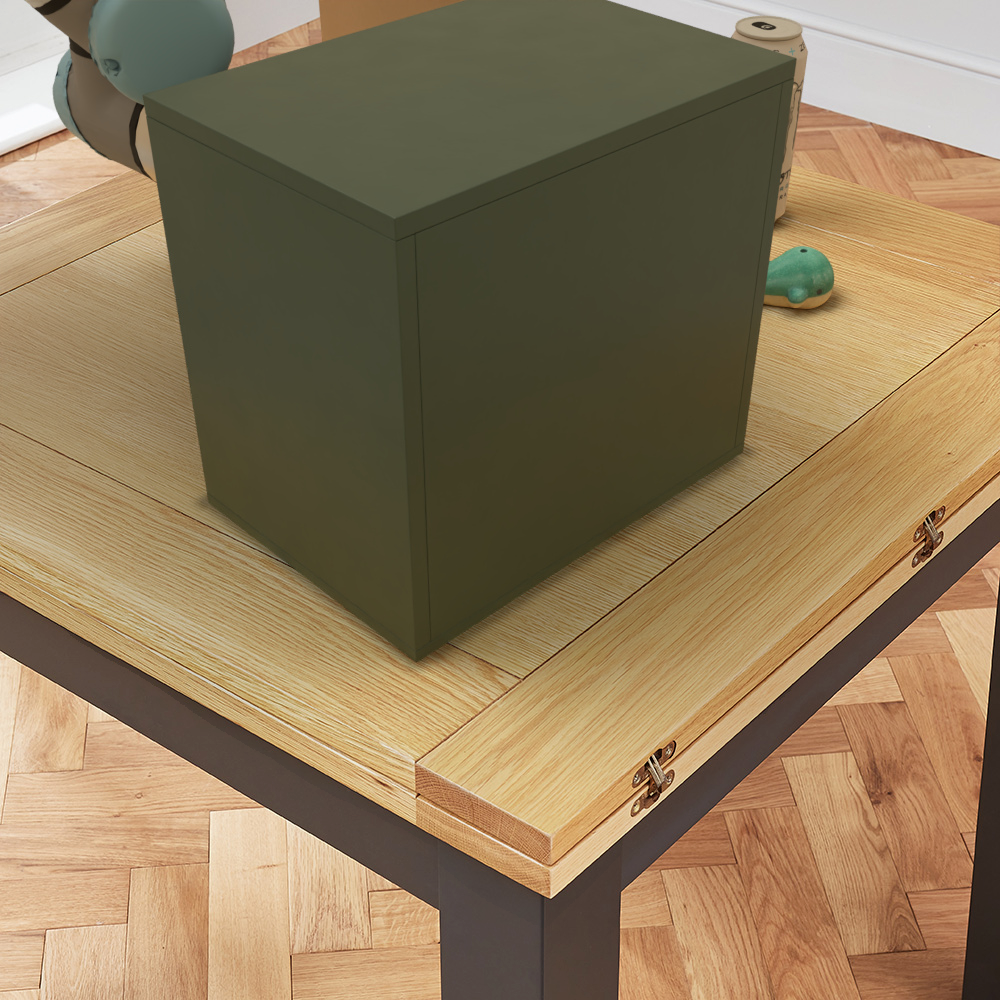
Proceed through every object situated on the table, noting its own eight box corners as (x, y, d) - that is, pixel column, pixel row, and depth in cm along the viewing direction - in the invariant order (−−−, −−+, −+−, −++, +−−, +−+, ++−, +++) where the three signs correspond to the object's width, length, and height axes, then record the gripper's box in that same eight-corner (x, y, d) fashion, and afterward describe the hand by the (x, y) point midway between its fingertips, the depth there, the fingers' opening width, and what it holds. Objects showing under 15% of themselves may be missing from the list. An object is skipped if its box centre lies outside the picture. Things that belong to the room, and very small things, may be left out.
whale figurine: (843, 315, 94) (852, 266, 92) (744, 325, 93) (750, 276, 91) (812, 276, 99) (819, 229, 97) (716, 286, 98) (722, 238, 96)
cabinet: (208, 505, 77) (141, 94, 62) (531, 343, 91) (537, -22, 77) (416, 666, 67) (394, 218, 52) (743, 455, 81) (797, 57, 66)
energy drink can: (747, 241, 103) (772, 46, 94) (691, 214, 107) (709, 24, 98) (799, 220, 106) (828, 28, 97) (743, 194, 110) (766, 7, 101)
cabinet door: (406, 182, 112) (393, -127, 97) (597, 312, 94) (615, -40, 80) (333, 202, 109) (309, -114, 94) (517, 339, 91) (521, -21, 77)
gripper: (337, 169, 92) (591, 289, 78) (114, 251, 82) (360, 403, 69) (330, 60, 87) (597, 167, 74) (92, 132, 77) (351, 270, 64)
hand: (482, 280), depth 71 cm, fingers closed on candy box, 4 cm apart
